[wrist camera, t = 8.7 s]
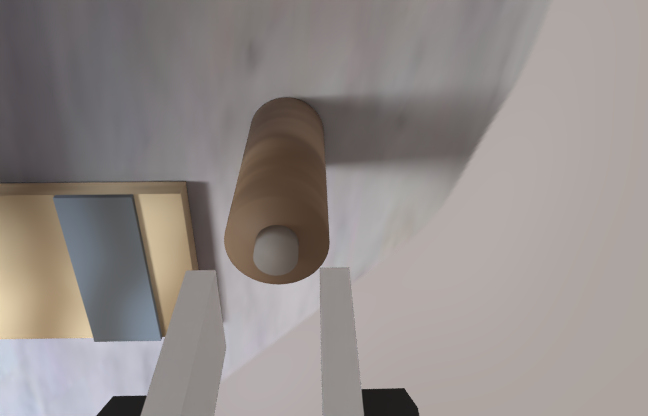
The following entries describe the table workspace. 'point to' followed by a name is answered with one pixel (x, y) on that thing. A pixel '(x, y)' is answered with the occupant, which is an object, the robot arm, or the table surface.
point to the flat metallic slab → (93, 259)
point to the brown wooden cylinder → (280, 196)
